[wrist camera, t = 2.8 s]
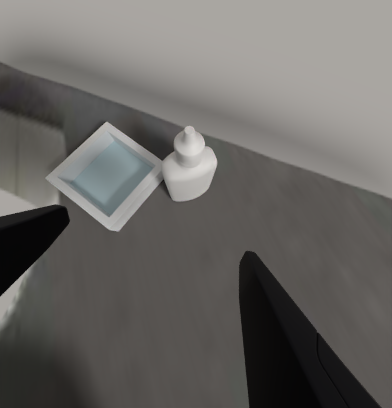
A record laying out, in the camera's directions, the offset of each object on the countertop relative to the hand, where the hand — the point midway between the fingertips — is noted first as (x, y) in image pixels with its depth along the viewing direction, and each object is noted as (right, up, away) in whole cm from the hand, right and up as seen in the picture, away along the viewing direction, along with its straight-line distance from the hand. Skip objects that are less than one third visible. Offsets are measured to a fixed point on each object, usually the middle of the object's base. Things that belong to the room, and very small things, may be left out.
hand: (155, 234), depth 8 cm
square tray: (-9, +5, +15) cm, 18 cm away
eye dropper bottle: (+1, +4, +15) cm, 15 cm away
